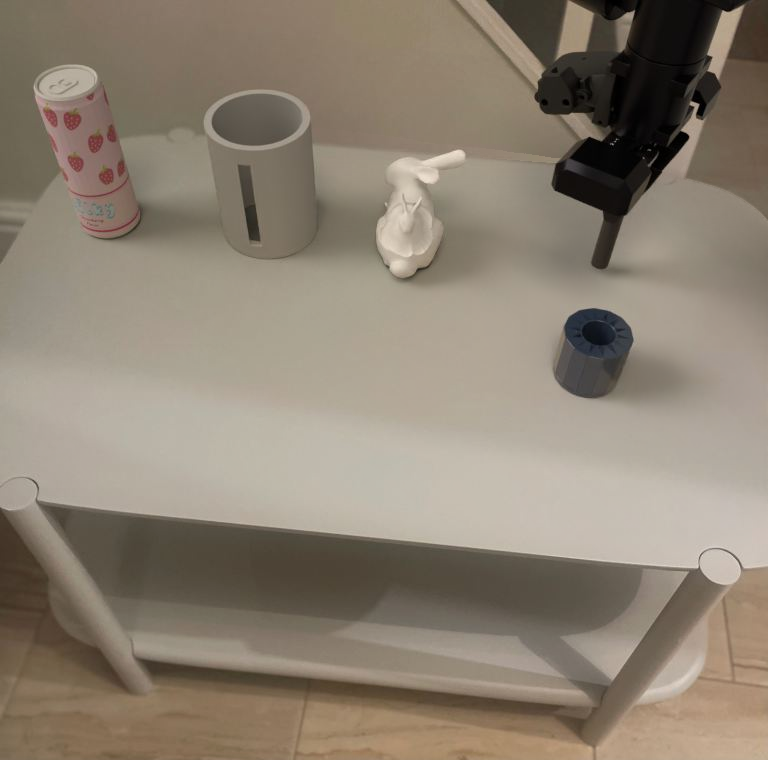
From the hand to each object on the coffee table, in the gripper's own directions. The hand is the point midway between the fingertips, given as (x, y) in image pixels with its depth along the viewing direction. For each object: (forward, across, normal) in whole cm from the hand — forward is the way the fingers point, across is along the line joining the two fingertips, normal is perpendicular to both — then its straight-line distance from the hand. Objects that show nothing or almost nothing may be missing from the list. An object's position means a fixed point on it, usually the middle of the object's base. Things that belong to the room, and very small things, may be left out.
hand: (614, 215), depth 69 cm
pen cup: (+7, +12, +5) cm, 14 cm away
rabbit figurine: (+7, +7, -16) cm, 19 cm away
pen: (+6, 0, 0) cm, 6 cm away
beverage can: (+7, +22, -42) cm, 48 cm away
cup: (+7, +14, -29) cm, 32 cm away
